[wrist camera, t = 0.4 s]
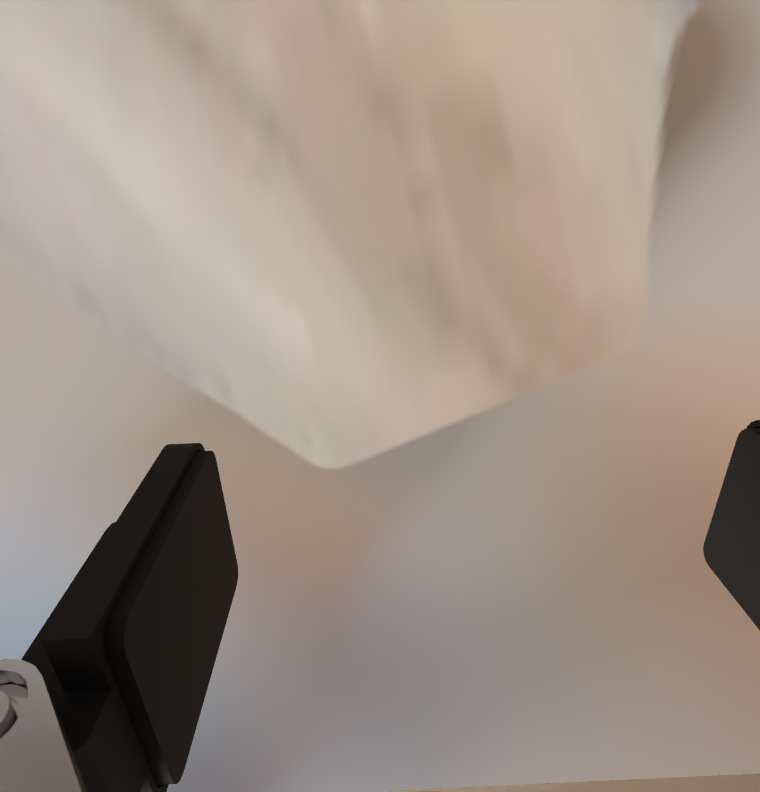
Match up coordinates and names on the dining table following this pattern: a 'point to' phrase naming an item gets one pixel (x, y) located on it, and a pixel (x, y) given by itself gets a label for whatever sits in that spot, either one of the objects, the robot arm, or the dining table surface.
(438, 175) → the dining table surface
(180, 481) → the robot arm
